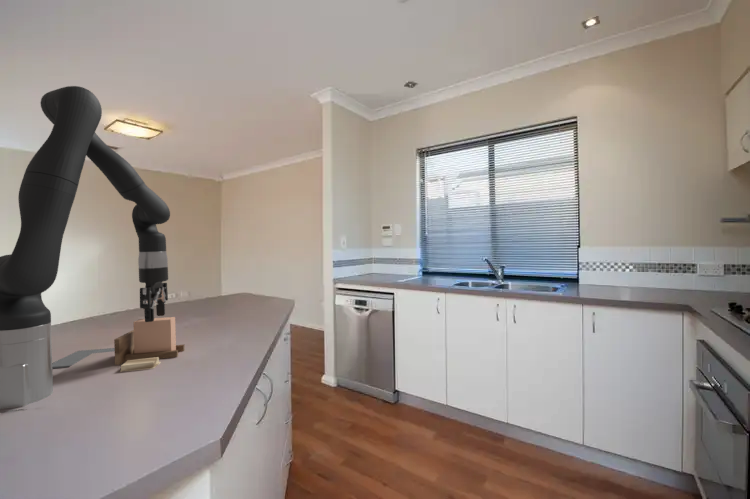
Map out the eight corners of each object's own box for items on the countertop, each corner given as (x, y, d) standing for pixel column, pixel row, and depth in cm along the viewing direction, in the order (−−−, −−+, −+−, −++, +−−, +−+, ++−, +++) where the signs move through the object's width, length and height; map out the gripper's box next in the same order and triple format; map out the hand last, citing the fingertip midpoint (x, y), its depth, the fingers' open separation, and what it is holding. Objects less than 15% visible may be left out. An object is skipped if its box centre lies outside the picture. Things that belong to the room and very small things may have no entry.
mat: (107, 363, 97) (107, 362, 97) (42, 369, 94) (41, 367, 94) (133, 347, 113) (133, 346, 113) (78, 352, 109) (78, 350, 109)
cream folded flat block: (153, 373, 91) (153, 368, 91) (120, 376, 89) (120, 371, 89) (160, 367, 96) (160, 362, 96) (129, 370, 94) (129, 364, 94)
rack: (174, 362, 98) (173, 335, 98) (115, 367, 94) (114, 339, 94) (187, 349, 110) (186, 325, 110) (134, 354, 106) (134, 329, 106)
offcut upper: (153, 367, 91) (153, 362, 91) (121, 371, 89) (120, 365, 89) (158, 362, 96) (158, 356, 96) (127, 365, 93) (127, 360, 93)
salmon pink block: (171, 358, 101) (170, 319, 101) (134, 361, 99) (133, 321, 99) (176, 354, 105) (175, 316, 105) (140, 357, 103) (139, 319, 103)
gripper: (157, 267, 96) (159, 322, 96) (175, 264, 110) (177, 312, 110) (128, 268, 94) (130, 325, 94) (149, 265, 108) (151, 314, 108)
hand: (155, 318), depth 102 cm, fingers open, 8 cm apart
